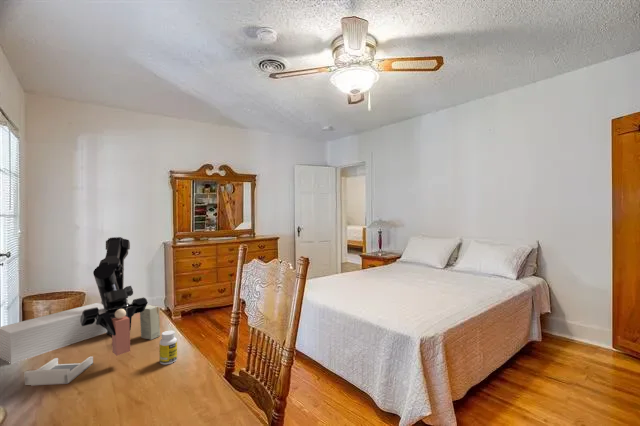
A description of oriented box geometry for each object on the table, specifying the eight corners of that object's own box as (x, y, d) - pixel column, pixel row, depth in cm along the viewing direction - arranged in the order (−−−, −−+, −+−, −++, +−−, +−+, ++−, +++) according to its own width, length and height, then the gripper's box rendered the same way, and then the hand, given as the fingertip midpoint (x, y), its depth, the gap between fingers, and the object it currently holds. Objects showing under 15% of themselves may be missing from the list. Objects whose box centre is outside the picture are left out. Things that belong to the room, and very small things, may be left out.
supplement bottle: (170, 365, 105) (169, 336, 105) (156, 364, 107) (155, 335, 106) (180, 358, 111) (180, 330, 110) (167, 356, 112) (166, 328, 112)
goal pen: (55, 365, 106) (54, 353, 106) (93, 363, 107) (92, 351, 107) (24, 385, 94) (24, 372, 94) (67, 383, 95) (67, 370, 95)
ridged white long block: (97, 327, 141) (96, 302, 141) (111, 331, 136) (110, 306, 136) (-2, 357, 113) (-3, 327, 113) (11, 364, 108) (9, 333, 108)
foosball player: (112, 351, 106) (111, 309, 105) (125, 347, 109) (124, 306, 108) (116, 355, 103) (115, 311, 103) (130, 351, 106) (129, 308, 106)
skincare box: (160, 336, 130) (160, 306, 129) (151, 340, 126) (150, 309, 125) (149, 333, 132) (149, 304, 132) (140, 337, 128) (139, 307, 128)
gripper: (81, 285, 101) (93, 328, 94) (144, 274, 115) (158, 311, 108) (75, 305, 106) (86, 347, 99) (136, 292, 120) (149, 329, 113)
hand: (122, 332), depth 105 cm, fingers closed on foosball player, 4 cm apart
